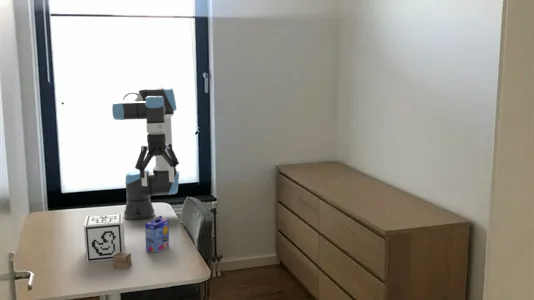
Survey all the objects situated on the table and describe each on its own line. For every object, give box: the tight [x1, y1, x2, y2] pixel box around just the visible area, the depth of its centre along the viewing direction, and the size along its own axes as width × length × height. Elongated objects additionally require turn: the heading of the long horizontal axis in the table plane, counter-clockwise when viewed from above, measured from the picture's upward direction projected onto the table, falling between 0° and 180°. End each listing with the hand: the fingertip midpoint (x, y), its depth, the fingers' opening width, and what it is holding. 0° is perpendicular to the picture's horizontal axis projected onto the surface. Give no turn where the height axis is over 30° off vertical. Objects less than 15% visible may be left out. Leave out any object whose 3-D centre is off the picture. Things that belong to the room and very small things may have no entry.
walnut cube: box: [112, 251, 132, 270], centre depth 229 cm, size 5×5×5 cm
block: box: [83, 212, 126, 263], centre depth 243 cm, size 15×15×15 cm
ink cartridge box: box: [144, 215, 170, 254], centre depth 248 cm, size 10×6×14 cm, turn 152°
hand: (158, 183), depth 246 cm, fingers open, 13 cm apart
